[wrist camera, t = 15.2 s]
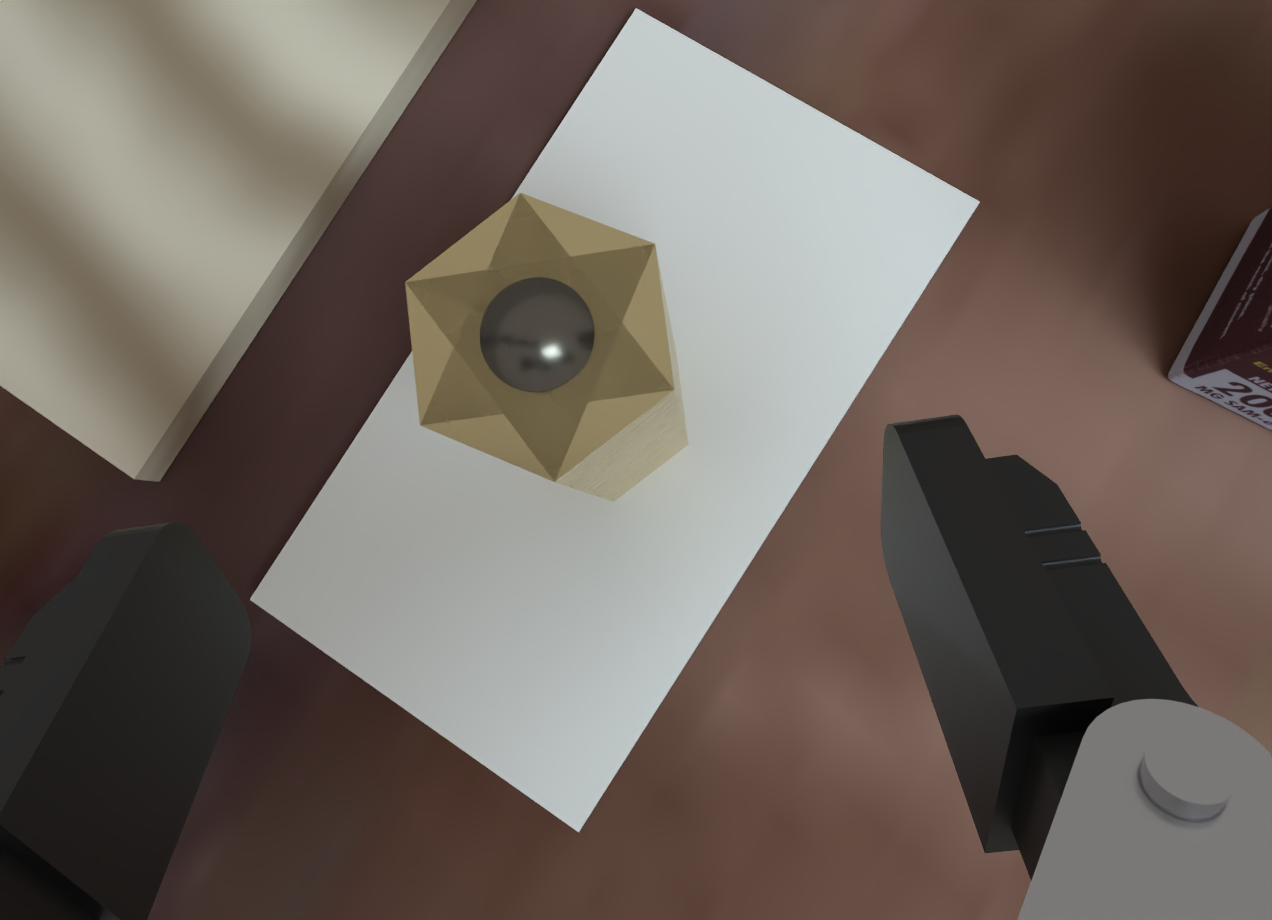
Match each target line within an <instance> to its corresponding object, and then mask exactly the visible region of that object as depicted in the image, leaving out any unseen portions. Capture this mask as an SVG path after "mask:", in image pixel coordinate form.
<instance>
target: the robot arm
mask: <svg viewBox="0 0 1272 920" xmlns="http://www.w3.org/2000/svg"><path fill="white" fill-rule="evenodd" d="M881 538H882V547H883V553H884V559H885V563H886V568H887V572H888V575H889V579H890V582H891V584H892V587H893V590H894V593H895V596H896V599H897V602H898V605H899V607H900V610H901V613H902V616H903V619H904V622H905V625H906V628H907V631H908V633H909V636H910V639H911V642H912V645H913V648H914V651H915V653H916V656H917V659H918V662H919V665H920V668H921V671H922V674H923V676H924V679H925V682H926V685H927V688H928V691H929V694H930V697H931V699H932V702H933V705H934V708H935V711H936V714H937V717H938V720H939V723H940V725H941V728H942V731H943V734H944V737H945V740H946V743H947V746H948V748H949V751H950V754H951V757H952V760H953V763H954V766H955V769H956V771H957V774H958V777H959V780H960V783H961V786H962V789H963V792H964V794H965V797H966V800H967V803H968V806H969V809H970V812H971V814H972V817H973V820H974V823H975V826H976V829H977V832H978V835H979V838H980V840H981V843H982V846H983V849H984V852H985V853H992V852H1002V851H1012V850H1020V852H1021V855H1022V858H1023V860H1024V863H1025V866H1026V868H1027V871H1028V873H1029V876H1030V879H1031V883H1030V886H1029V889H1028V892H1027V895H1026V897H1025V900H1024V903H1023V906H1022V909H1021V911H1020V914H1019V917H1018V920H1272V755H1271V754H1270V753H1269V752H1268V751H1267V750H1266V749H1265V748H1264V747H1263V746H1262V745H1261V744H1260V743H1259V742H1258V741H1257V740H1255V739H1254V738H1253V737H1252V736H1251V735H1249V734H1248V733H1246V732H1245V731H1244V730H1242V729H1241V728H1240V727H1238V726H1237V725H1235V724H1233V723H1231V722H1230V721H1228V720H1226V719H1224V718H1223V717H1221V716H1219V715H1216V714H1214V713H1212V712H1210V711H1207V710H1205V709H1203V708H1199V707H1198V706H1197V704H1196V703H1195V702H1194V701H1193V700H1192V699H1191V698H1190V696H1189V695H1188V693H1187V692H1186V691H1185V689H1184V688H1183V687H1182V685H1181V683H1180V682H1179V680H1178V679H1177V677H1176V675H1175V674H1174V672H1173V671H1172V669H1171V667H1170V666H1169V664H1168V662H1167V661H1166V659H1165V658H1164V656H1163V654H1162V653H1161V651H1160V650H1159V648H1158V646H1157V645H1156V643H1155V642H1154V640H1153V638H1152V637H1151V635H1150V633H1149V632H1148V630H1147V629H1146V627H1145V625H1144V624H1143V622H1142V621H1141V619H1140V617H1139V616H1138V614H1137V613H1136V611H1135V609H1134V608H1133V606H1132V604H1131V603H1130V601H1129V600H1128V598H1127V596H1126V595H1125V593H1124V592H1123V590H1122V588H1121V587H1120V585H1119V584H1118V582H1117V580H1116V579H1115V577H1114V575H1113V574H1112V572H1111V571H1110V569H1109V567H1108V566H1107V564H1106V563H1102V562H1101V558H1100V553H1099V551H1098V550H1097V548H1096V546H1095V545H1094V543H1093V542H1092V540H1091V538H1090V537H1089V535H1088V534H1087V532H1086V530H1084V531H1082V529H1081V522H1080V521H1079V519H1078V517H1077V516H1076V514H1075V513H1074V511H1073V509H1072V508H1071V506H1070V505H1069V503H1068V501H1067V500H1066V498H1065V497H1064V495H1063V493H1062V492H1061V490H1060V488H1059V487H1058V485H1057V484H1056V483H1054V482H1053V481H1052V480H1050V479H1049V478H1048V477H1046V476H1045V475H1043V474H1042V473H1041V472H1039V471H1038V470H1037V469H1035V468H1034V467H1033V466H1031V465H1030V464H1029V463H1027V462H1026V461H1025V460H1023V459H1022V458H1020V457H1019V456H1018V455H1011V456H1003V457H996V458H989V459H985V457H984V456H983V454H982V452H981V450H980V448H979V446H978V444H977V443H976V441H975V439H974V437H973V435H972V433H971V432H970V430H969V428H968V426H967V424H966V423H965V421H964V420H963V418H962V417H961V416H959V415H950V416H943V417H936V418H929V419H922V420H914V421H907V422H900V423H893V424H888V425H887V427H886V429H885V434H884V448H883V475H882V502H881ZM251 641H252V633H251V624H250V619H249V616H248V613H247V610H246V608H245V606H244V604H243V603H242V601H241V600H240V598H239V597H238V595H237V594H236V592H235V591H234V589H233V588H232V586H231V585H230V583H229V582H228V580H227V579H226V577H225V576H224V575H223V573H222V572H221V570H220V569H219V567H218V566H217V564H216V563H215V561H214V560H213V558H212V557H211V555H210V554H209V552H208V551H207V549H206V548H205V546H204V545H203V543H202V542H201V541H200V539H199V538H198V536H197V535H196V533H195V532H194V531H193V530H192V529H191V528H190V527H189V526H188V525H186V524H184V523H181V522H169V523H162V524H155V525H148V526H141V527H134V528H126V529H119V530H114V531H111V532H109V533H107V534H106V535H105V536H103V537H102V538H101V540H100V541H99V542H98V544H97V545H96V547H95V548H94V550H93V551H92V553H91V555H90V556H89V558H88V559H87V561H86V562H85V564H84V566H83V567H82V569H81V570H80V572H79V573H78V575H77V577H76V578H75V580H73V581H70V582H69V583H68V584H67V585H66V586H65V587H64V588H63V589H62V590H61V591H59V592H58V593H57V594H56V595H55V596H54V597H53V598H52V599H51V600H50V601H49V602H48V603H47V604H46V605H44V606H43V607H42V608H41V609H40V610H39V611H38V612H37V613H36V614H35V615H34V616H33V617H32V618H31V619H30V620H29V622H28V623H27V625H26V626H25V628H24V629H23V631H22V632H21V634H20V635H19V637H18V639H17V640H16V642H15V643H14V645H13V646H12V648H11V649H10V651H9V652H8V654H7V655H6V657H5V658H4V660H5V666H4V667H0V920H147V918H148V915H149V913H150V910H151V908H152V905H153V902H154V900H155V897H156V895H157V892H158V890H159V887H160V884H161V882H162V879H163V877H164V874H165V871H166V869H167V866H168V864H169V861H170V859H171V856H172V853H173V851H174V848H175V846H176V843H177V841H178V838H179V835H180V833H181V830H182V828H183V825H184V823H185V820H186V817H187V815H188V812H189V810H190V807H191V805H192V802H193V799H194V797H195V794H196V792H197V789H198V787H199V784H200V781H201V779H202V776H203V774H204V771H205V769H206V766H207V763H208V761H209V758H210V756H211V753H212V751H213V748H214V745H215V743H216V740H217V738H218V735H219V733H220V730H221V727H222V725H223V722H224V720H225V717H226V714H227V712H228V709H229V707H230V704H231V702H232V699H233V696H234V694H235V691H236V689H237V686H238V684H239V681H240V678H241V676H242V673H243V671H244V668H245V666H246V663H247V660H248V657H249V654H250V649H251Z"/></svg>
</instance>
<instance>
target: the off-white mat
mask: <svg viewBox="0 0 1272 920" xmlns="http://www.w3.org/2000/svg"><path fill="white" fill-rule="evenodd" d="M519 193H523V194H525V195H528V196H531V197H533V198H536V199H539V200H541V201H544V202H546V203H549V204H552V205H554V206H557V207H560V208H562V209H565V210H568V211H570V212H573V213H575V214H578V215H581V216H583V217H586V218H589V219H591V220H594V221H597V222H599V223H602V224H604V225H607V226H610V227H612V228H615V229H618V230H620V231H623V232H626V233H628V234H631V235H633V236H636V237H639V238H641V239H644V240H647V241H649V242H652V243H654V244H655V246H656V251H657V256H658V261H659V266H660V271H661V276H662V282H663V287H664V292H665V297H666V302H667V307H668V312H669V317H670V323H671V328H672V333H673V338H674V343H675V348H676V354H677V361H678V369H679V376H680V384H681V391H682V399H683V406H684V414H685V421H686V429H687V436H688V444H689V445H687V446H686V447H685V448H683V449H682V450H681V451H680V452H678V453H677V454H676V455H674V456H673V457H672V458H670V459H669V460H668V461H666V462H665V463H664V464H663V465H661V466H660V467H659V468H657V469H656V470H655V471H653V472H652V473H651V474H650V475H648V476H647V477H646V478H644V479H643V480H642V481H640V482H639V483H638V484H637V485H635V486H634V487H633V488H631V489H630V490H629V491H627V492H626V493H625V494H623V495H622V496H621V497H620V498H618V499H617V500H616V501H614V502H612V501H609V500H606V499H603V498H600V497H597V496H594V495H591V494H588V493H586V492H583V491H580V490H577V489H574V488H571V487H568V486H565V485H562V484H559V483H556V482H553V481H551V480H548V479H546V478H544V477H541V476H539V475H536V474H534V473H532V472H529V471H527V470H525V469H522V468H520V467H517V466H515V465H513V464H510V463H508V462H506V461H503V460H501V459H498V458H496V457H494V456H491V455H489V454H486V453H484V452H482V451H479V450H477V449H475V448H472V447H470V446H467V445H465V444H463V443H460V442H458V441H456V440H453V439H451V438H448V437H446V436H444V435H441V434H439V433H436V432H434V431H432V430H429V429H427V428H425V427H422V426H420V421H419V412H418V402H417V392H416V383H415V373H414V363H413V353H412V352H411V353H410V355H409V356H408V358H407V359H406V361H405V363H404V364H403V366H402V367H401V369H400V370H399V372H398V373H397V375H396V376H395V378H394V379H393V381H392V382H391V384H390V385H389V387H388V389H387V390H386V392H385V393H384V395H383V396H382V398H381V399H380V401H379V402H378V404H377V405H376V407H375V408H374V410H373V412H372V413H371V415H370V416H369V418H368V419H367V421H366V422H365V424H364V425H363V427H362V428H361V430H360V431H359V433H358V434H357V436H356V438H355V439H354V441H353V442H352V444H351V445H350V447H349V448H348V450H347V451H346V453H345V454H344V456H343V457H342V459H341V460H340V462H339V464H338V465H337V467H336V468H335V470H334V471H333V473H332V474H331V476H330V477H329V479H328V480H327V482H326V483H325V485H324V487H323V488H322V490H321V491H320V493H319V494H318V496H317V497H316V499H315V500H314V502H313V503H312V505H311V506H310V508H309V509H308V511H307V513H306V514H305V516H304V517H303V519H302V520H301V522H300V523H299V525H298V526H297V528H296V529H295V531H294V532H293V534H292V535H291V537H290V539H289V540H288V542H287V543H286V545H285V546H284V548H283V549H282V551H281V552H280V554H279V555H278V557H277V558H276V560H275V562H274V563H273V565H272V566H271V568H270V569H269V571H268V572H267V574H266V575H265V577H264V578H263V580H262V581H261V583H260V584H259V586H258V588H257V589H256V591H255V592H254V594H253V595H252V597H251V598H250V600H251V601H252V602H254V603H255V604H257V605H258V606H259V607H261V608H262V609H264V610H265V611H267V612H268V613H269V614H271V615H272V616H274V617H275V618H276V619H278V620H279V621H281V622H282V623H283V624H285V625H286V626H288V627H289V628H291V629H292V630H293V631H295V632H296V633H298V634H299V635H300V636H302V637H303V638H305V639H306V640H308V641H309V642H310V643H312V644H313V645H315V646H316V647H317V648H319V649H320V650H322V651H323V652H324V653H326V654H327V655H329V656H330V657H332V658H333V659H334V660H336V661H337V662H339V663H340V664H341V665H343V666H344V667H346V668H347V669H349V670H350V671H351V672H353V673H354V674H356V675H357V676H358V677H360V678H361V679H363V680H364V681H365V682H367V683H368V684H370V685H371V686H373V687H374V688H375V689H377V690H378V691H380V692H381V693H382V694H384V695H385V696H387V697H388V698H390V699H391V700H392V701H394V702H395V703H397V704H398V705H399V706H401V707H402V708H404V709H405V710H406V711H408V712H409V713H411V714H412V715H414V716H415V717H416V718H418V719H419V720H421V721H422V722H423V723H425V724H426V725H428V726H429V727H430V728H432V729H433V730H435V731H436V732H438V733H439V734H440V735H442V736H443V737H445V738H446V739H447V740H449V741H450V742H452V743H453V744H455V745H456V746H457V747H459V748H460V749H462V750H463V751H464V752H466V753H467V754H469V755H470V756H471V757H473V758H474V759H476V760H477V761H479V762H480V763H481V764H483V765H484V766H486V767H487V768H488V769H490V770H491V771H493V772H494V773H496V774H497V775H498V776H500V777H501V778H503V779H504V780H505V781H507V782H508V783H510V784H511V785H512V786H514V787H515V788H517V789H518V790H520V791H521V792H522V793H524V794H525V795H527V796H528V797H529V798H531V799H532V800H534V801H535V802H536V803H538V804H539V805H541V806H542V807H544V808H545V809H546V810H548V811H549V812H551V813H552V814H553V815H555V816H556V817H558V818H559V819H561V820H562V821H563V822H565V823H566V824H568V825H569V826H570V827H572V828H573V829H575V830H576V831H577V832H579V831H580V829H581V828H582V826H583V825H584V823H585V822H586V820H587V818H588V817H589V815H590V814H591V812H592V811H593V809H594V807H595V806H596V804H597V803H598V801H599V800H600V798H601V796H602V795H603V793H604V792H605V790H606V789H607V787H608V785H609V784H610V782H611V781H612V779H613V778H614V776H615V774H616V773H617V771H618V770H619V768H620V767H621V765H622V763H623V762H624V760H625V759H626V757H627V756H628V754H629V752H630V751H631V749H632V748H633V746H634V745H635V743H636V741H637V740H638V738H639V737H640V735H641V734H642V732H643V730H644V729H645V727H646V726H647V724H648V723H649V721H650V719H651V718H652V716H653V715H654V713H655V712H656V710H657V708H658V707H659V705H660V704H661V702H662V701H663V699H664V697H665V696H666V694H667V693H668V691H669V690H670V688H671V686H672V685H673V683H674V682H675V680H676V679H677V677H678V675H679V674H680V672H681V671H682V669H683V668H684V666H685V665H686V663H687V661H688V660H689V658H690V657H691V655H692V654H693V652H694V650H695V649H696V647H697V646H698V644H699V643H700V641H701V639H702V638H703V636H704V635H705V633H706V632H707V630H708V628H709V627H710V625H711V624H712V622H713V621H714V619H715V617H716V616H717V614H718V613H719V611H720V610H721V608H722V606H723V605H724V603H725V602H726V600H727V599H728V597H729V595H730V594H731V592H732V591H733V589H734V588H735V586H736V584H737V583H738V581H739V580H740V578H741V577H742V575H743V573H744V572H745V570H746V569H747V567H748V566H749V564H750V562H751V561H752V559H753V558H754V556H755V555H756V553H757V551H758V550H759V548H760V547H761V545H762V544H763V542H764V540H765V539H766V537H767V536H768V534H769V533H770V531H771V529H772V528H773V526H774V525H775V523H776V522H777V520H778V518H779V517H780V515H781V514H782V512H783V511H784V509H785V507H786V506H787V504H788V503H789V501H790V500H791V498H792V496H793V495H794V493H795V492H796V490H797V489H798V487H799V485H800V484H801V482H802V481H803V479H804V478H805V476H806V474H807V473H808V471H809V470H810V468H811V467H812V465H813V463H814V462H815V460H816V459H817V457H818V456H819V454H820V452H821V451H822V449H823V448H824V446H825V445H826V443H827V441H828V440H829V438H830V437H831V435H832V434H833V432H834V430H835V429H836V427H837V426H838V424H839V423H840V421H841V419H842V418H843V416H844V415H845V413H846V412H847V410H848V408H849V407H850V405H851V404H852V402H853V401H854V399H855V397H856V396H857V394H858V393H859V391H860V390H861V388H862V386H863V385H864V383H865V382H866V380H867V379H868V377H869V375H870V374H871V372H872V371H873V369H874V368H875V366H876V364H877V363H878V361H879V360H880V358H881V357H882V355H883V353H884V352H885V350H886V349H887V347H888V346H889V344H890V342H891V341H892V339H893V338H894V336H895V335H896V333H897V331H898V330H899V328H900V327H901V325H902V324H903V322H904V320H905V319H906V317H907V316H908V314H909V313H910V311H911V309H912V308H913V306H914V305H915V303H916V302H917V300H918V298H919V297H920V295H921V294H922V292H923V291H924V289H925V287H926V286H927V284H928V283H929V281H930V280H931V278H932V276H933V275H934V273H935V272H936V270H937V269H938V267H939V265H940V264H941V262H942V261H943V259H944V258H945V256H946V254H947V253H948V251H949V250H950V248H951V247H952V245H953V243H954V242H955V240H956V239H957V237H958V236H959V234H960V232H961V231H962V229H963V228H964V226H965V225H966V223H967V221H968V220H969V218H970V217H971V215H972V214H973V212H974V210H975V209H976V207H977V206H978V204H979V203H980V202H979V201H978V200H976V199H974V198H972V197H970V196H969V195H967V194H965V193H963V192H962V191H960V190H958V189H956V188H954V187H953V186H951V185H949V184H947V183H946V182H944V181H942V180H940V179H938V178H937V177H935V176H933V175H931V174H930V173H928V172H926V171H924V170H922V169H921V168H919V167H917V166H915V165H914V164H912V163H910V162H908V161H906V160H905V159H903V158H901V157H899V156H898V155H896V154H894V153H892V152H891V151H889V150H887V149H885V148H883V147H882V146H880V145H878V144H876V143H875V142H873V141H871V140H869V139H867V138H866V137H864V136H862V135H860V134H859V133H857V132H855V131H853V130H851V129H850V128H848V127H846V126H844V125H843V124H841V123H839V122H837V121H835V120H834V119H832V118H830V117H828V116H827V115H825V114H823V113H821V112H819V111H818V110H816V109H814V108H812V107H811V106H809V105H807V104H805V103H803V102H802V101H800V100H798V99H796V98H795V97H793V96H791V95H789V94H788V93H786V92H784V91H782V90H780V89H779V88H777V87H775V86H773V85H772V84H770V83H768V82H766V81H764V80H763V79H761V78H759V77H757V76H756V75H754V74H752V73H750V72H748V71H747V70H745V69H743V68H741V67H740V66H738V65H736V64H734V63H732V62H731V61H729V60H727V59H725V58H724V57H722V56H720V55H718V54H716V53H715V52H713V51H711V50H709V49H708V48H706V47H704V46H702V45H700V44H699V43H697V42H695V41H693V40H692V39H690V38H688V37H686V36H684V35H683V34H681V33H679V32H677V31H676V30H674V29H672V28H670V27H669V26H667V25H665V24H663V23H661V22H660V21H658V20H656V19H654V18H653V17H651V16H649V15H647V14H645V13H644V12H642V11H640V10H638V9H637V8H636V9H635V10H634V12H633V14H632V15H631V17H630V18H629V20H628V21H627V23H626V24H625V26H624V27H623V29H622V30H621V32H620V33H619V35H618V37H617V38H616V40H615V41H614V43H613V44H612V46H611V47H610V49H609V50H608V52H607V53H606V55H605V56H604V58H603V59H602V61H601V63H600V64H599V66H598V67H597V69H596V70H595V72H594V73H593V75H592V76H591V78H590V79H589V81H588V82H587V84H586V85H585V87H584V89H583V90H582V92H581V93H580V95H579V96H578V98H577V99H576V101H575V102H574V104H573V105H572V107H571V108H570V110H569V112H568V113H567V115H566V116H565V118H564V119H563V121H562V122H561V124H560V125H559V127H558V128H557V130H556V131H555V133H554V134H553V136H552V138H551V139H550V141H549V142H548V144H547V145H546V147H545V148H544V150H543V151H542V153H541V154H540V156H539V157H538V159H537V160H536V162H535V164H534V165H533V167H532V168H531V170H530V171H529V173H528V174H527V176H526V177H525V179H524V180H523V182H522V183H521V185H520V187H519V188H518V190H517V191H516V193H515V194H514V196H513V197H512V199H513V198H514V197H515V196H517V195H518V194H519ZM512 199H511V200H512Z"/></svg>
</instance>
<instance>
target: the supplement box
mask: <svg viewBox="0 0 1272 920" xmlns="http://www.w3.org/2000/svg"><path fill="white" fill-rule="evenodd" d="M1168 378H1169V379H1170V380H1171V381H1172V382H1174V383H1176V384H1178V385H1180V386H1182V387H1184V388H1186V389H1188V390H1191V391H1193V392H1195V393H1197V394H1200V395H1202V396H1204V397H1206V398H1208V399H1210V400H1212V401H1214V402H1216V403H1218V404H1220V405H1222V406H1224V407H1226V408H1228V409H1230V410H1232V411H1234V412H1236V413H1238V414H1240V415H1242V416H1244V417H1246V418H1248V419H1250V420H1252V421H1254V422H1256V423H1258V424H1260V425H1262V426H1264V427H1266V428H1268V429H1270V430H1272V207H1271V208H1269V209H1267V210H1266V211H1264V212H1263V213H1261V214H1259V215H1258V216H1256V217H1255V218H1254V219H1253V220H1252V221H1251V223H1250V225H1249V227H1248V229H1247V231H1246V232H1245V234H1244V236H1243V238H1242V240H1241V242H1240V243H1239V245H1238V247H1237V249H1236V251H1235V253H1234V254H1233V256H1232V258H1231V260H1230V261H1229V263H1228V265H1227V267H1226V269H1225V270H1224V272H1223V274H1222V276H1221V278H1220V279H1219V281H1218V283H1217V285H1216V287H1215V289H1214V291H1213V292H1212V294H1211V296H1210V298H1209V300H1208V302H1207V303H1206V305H1205V307H1204V309H1203V311H1202V313H1201V314H1200V316H1199V318H1198V320H1197V322H1196V323H1195V325H1194V327H1193V329H1192V331H1191V332H1190V334H1189V336H1188V338H1187V340H1186V342H1185V343H1184V345H1183V347H1182V349H1181V351H1180V353H1179V354H1178V356H1177V358H1176V360H1175V362H1174V364H1173V365H1172V367H1171V369H1170V371H1169V373H1168Z"/></svg>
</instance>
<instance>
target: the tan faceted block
mask: <svg viewBox="0 0 1272 920" xmlns="http://www.w3.org/2000/svg"><path fill="white" fill-rule="evenodd" d="M405 286H406V295H407V305H408V315H409V324H410V334H411V344H412V353H413V363H414V373H415V383H416V392H417V402H418V412H419V421H420V426H422V427H425V428H427V429H429V430H432V431H434V432H436V433H439V434H441V435H444V436H446V437H448V438H451V439H453V440H456V441H458V442H460V443H463V444H465V445H467V446H470V447H472V448H475V449H477V450H479V451H482V452H484V453H486V454H489V455H491V456H494V457H496V458H498V459H501V460H503V461H506V462H508V463H510V464H513V465H515V466H517V467H520V468H522V469H525V470H527V471H529V472H532V473H534V474H536V475H539V476H541V477H544V478H546V479H548V480H551V481H553V482H556V483H559V484H562V485H565V486H568V487H571V488H574V489H577V490H580V491H583V492H586V493H588V494H591V495H594V496H597V497H600V498H603V499H606V500H609V501H612V502H614V501H616V500H617V499H618V498H620V497H621V496H622V495H623V494H625V493H626V492H627V491H629V490H630V489H631V488H633V487H634V486H635V485H637V484H638V483H639V482H640V481H642V480H643V479H644V478H646V477H647V476H648V475H650V474H651V473H652V472H653V471H655V470H656V469H657V468H659V467H660V466H661V465H663V464H664V463H665V462H666V461H668V460H669V459H670V458H672V457H673V456H674V455H676V454H677V453H678V452H680V451H681V450H682V449H683V448H685V447H686V446H687V445H689V444H688V436H687V429H686V421H685V414H684V406H683V399H682V391H681V384H680V376H679V369H678V361H677V354H676V348H675V343H674V338H673V333H672V328H671V323H670V317H669V312H668V307H667V302H666V297H665V292H664V287H663V282H662V276H661V271H660V266H659V261H658V256H657V251H656V246H655V244H654V243H652V242H649V241H647V240H644V239H641V238H639V237H636V236H633V235H631V234H628V233H626V232H623V231H620V230H618V229H615V228H612V227H610V226H607V225H604V224H602V223H599V222H597V221H594V220H591V219H589V218H586V217H583V216H581V215H578V214H575V213H573V212H570V211H568V210H565V209H562V208H560V207H557V206H554V205H552V204H549V203H546V202H544V201H541V200H539V199H536V198H533V197H531V196H528V195H525V194H523V193H519V194H518V195H517V196H515V197H514V198H513V199H512V200H510V201H509V202H508V203H506V204H505V205H504V206H503V207H501V208H500V209H499V210H497V211H496V212H495V213H494V214H492V215H491V216H490V217H488V218H487V219H486V220H485V221H483V222H482V223H481V224H479V225H478V226H477V227H476V228H474V229H473V230H472V231H470V232H469V233H468V234H467V235H465V236H464V237H463V238H461V239H460V240H459V241H458V242H456V243H455V244H454V245H452V246H451V247H450V248H448V249H447V250H446V251H445V252H443V253H442V254H441V255H439V256H438V257H437V258H436V259H434V260H433V261H432V262H430V263H429V264H428V265H427V266H425V267H424V268H423V269H421V270H420V271H419V272H418V273H416V274H415V275H414V276H412V277H411V278H410V279H409V280H407V281H406V282H405Z"/></svg>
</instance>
